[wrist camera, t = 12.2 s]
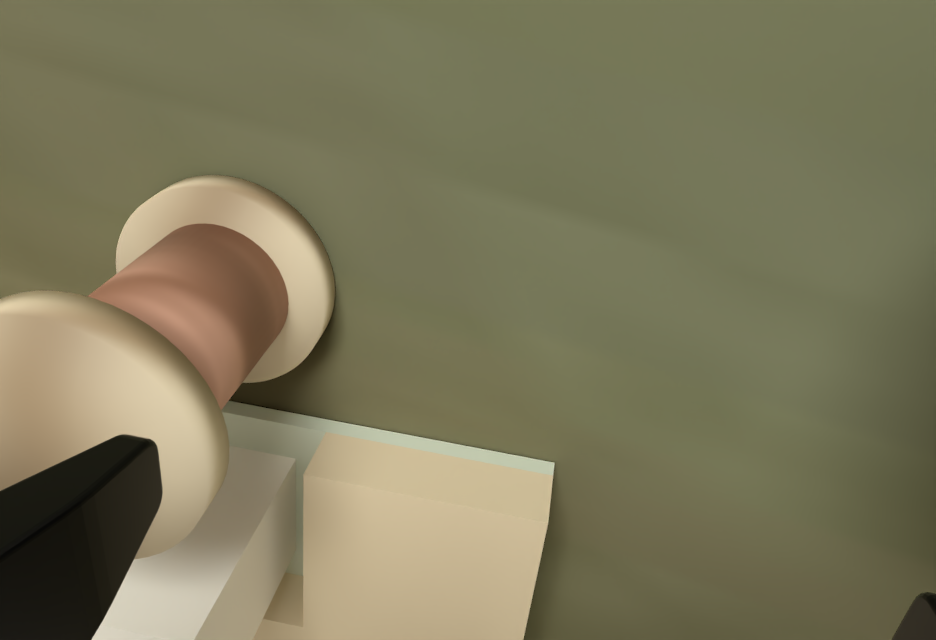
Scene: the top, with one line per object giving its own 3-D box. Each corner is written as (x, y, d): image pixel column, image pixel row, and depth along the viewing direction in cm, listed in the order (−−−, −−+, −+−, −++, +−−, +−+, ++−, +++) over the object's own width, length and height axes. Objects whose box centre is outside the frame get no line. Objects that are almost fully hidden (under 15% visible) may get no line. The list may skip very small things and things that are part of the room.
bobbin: (337, 193, 21) (197, 346, 14) (333, 380, 24) (215, 584, 17) (123, 159, 21) (-115, 289, 14) (146, 346, 24) (-44, 529, 17)
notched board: (554, 462, 24) (548, 522, 21) (514, 654, 28) (505, 721, 26) (-52, 347, 25) (-117, 391, 23) (1, 545, 30) (-49, 598, 28)
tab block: (296, 549, 26) (201, 744, 20) (184, 526, 27) (59, 711, 21) (296, 458, 24) (191, 645, 18) (175, 434, 25) (33, 610, 19)
